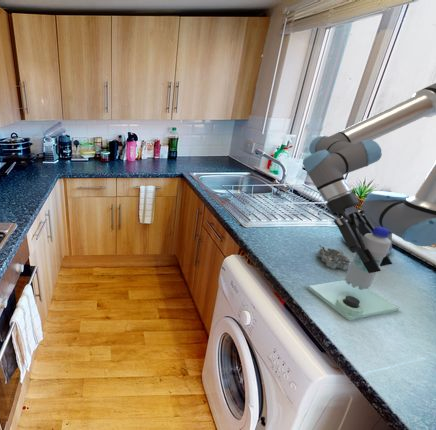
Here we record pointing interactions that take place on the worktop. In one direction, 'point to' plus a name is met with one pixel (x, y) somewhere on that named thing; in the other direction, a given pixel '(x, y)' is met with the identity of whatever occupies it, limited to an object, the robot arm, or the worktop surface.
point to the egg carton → (334, 258)
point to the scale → (340, 289)
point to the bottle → (378, 249)
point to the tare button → (351, 301)
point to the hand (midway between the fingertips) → (380, 268)
